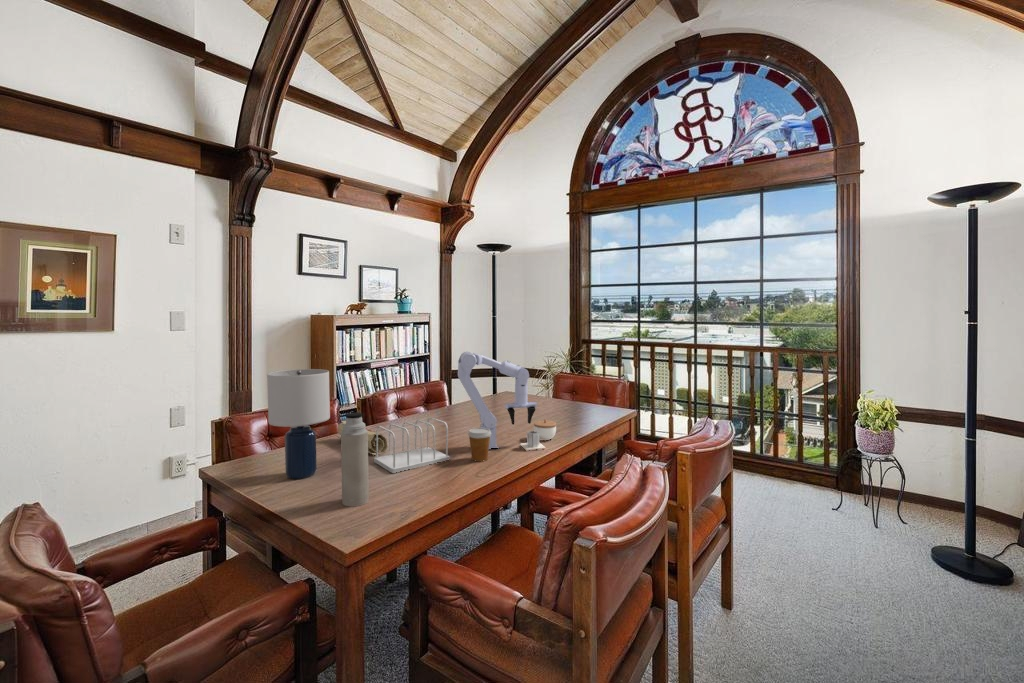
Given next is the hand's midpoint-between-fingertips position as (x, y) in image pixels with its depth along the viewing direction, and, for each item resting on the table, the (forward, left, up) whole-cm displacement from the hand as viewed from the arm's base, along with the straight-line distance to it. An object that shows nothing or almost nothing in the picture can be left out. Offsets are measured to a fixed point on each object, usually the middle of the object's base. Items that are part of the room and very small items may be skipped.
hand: (521, 423), depth 205 cm
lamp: (-89, -17, -10) cm, 91 cm away
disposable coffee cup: (-22, -16, -10) cm, 29 cm away
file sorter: (-49, -11, -10) cm, 51 cm away
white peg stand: (+4, -6, -10) cm, 12 cm away
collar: (+4, -6, -9) cm, 11 cm away
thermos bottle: (-68, -47, -10) cm, 83 cm away
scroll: (-70, +16, -10) cm, 73 cm away
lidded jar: (+14, +6, -10) cm, 18 cm away
